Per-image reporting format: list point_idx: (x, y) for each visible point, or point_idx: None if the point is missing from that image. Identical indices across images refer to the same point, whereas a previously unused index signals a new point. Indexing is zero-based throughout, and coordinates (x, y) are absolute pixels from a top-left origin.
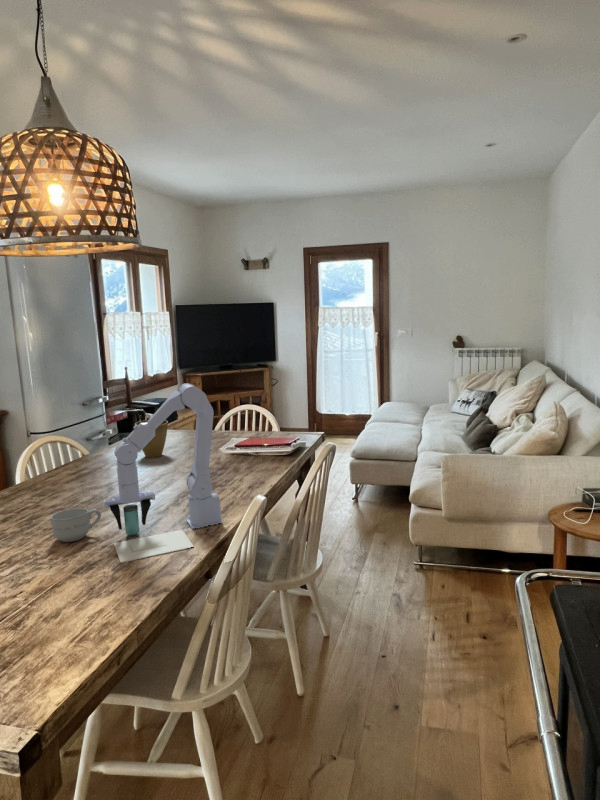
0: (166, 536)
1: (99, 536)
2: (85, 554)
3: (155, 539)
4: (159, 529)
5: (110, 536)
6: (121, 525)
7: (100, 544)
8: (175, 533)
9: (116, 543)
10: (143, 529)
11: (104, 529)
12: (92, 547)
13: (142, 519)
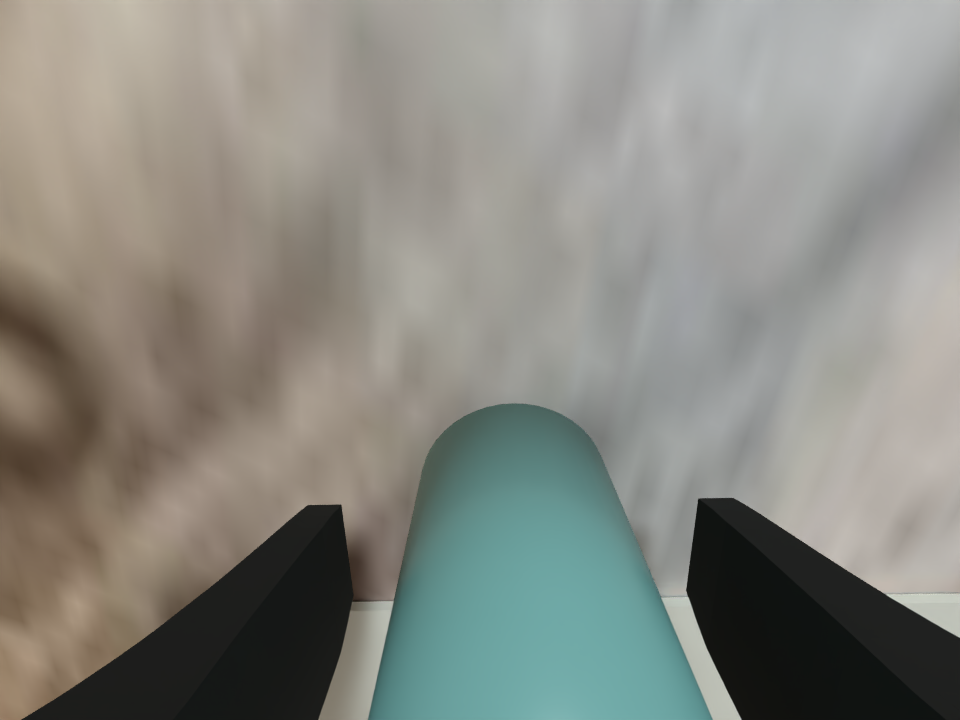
0: None
1: (76, 291)
2: (23, 694)
3: (707, 703)
4: (863, 433)
5: (231, 364)
6: (334, 669)
7: (134, 544)
8: None
9: None
10: (681, 331)
11: (105, 6)
12: (57, 579)
13: (731, 622)
